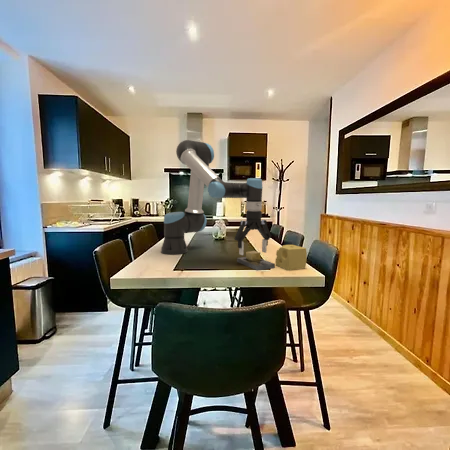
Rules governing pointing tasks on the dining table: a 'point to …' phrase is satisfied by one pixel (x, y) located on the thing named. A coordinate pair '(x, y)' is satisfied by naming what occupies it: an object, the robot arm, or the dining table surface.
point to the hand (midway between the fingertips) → (253, 253)
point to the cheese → (291, 257)
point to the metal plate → (256, 264)
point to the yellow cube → (252, 256)
